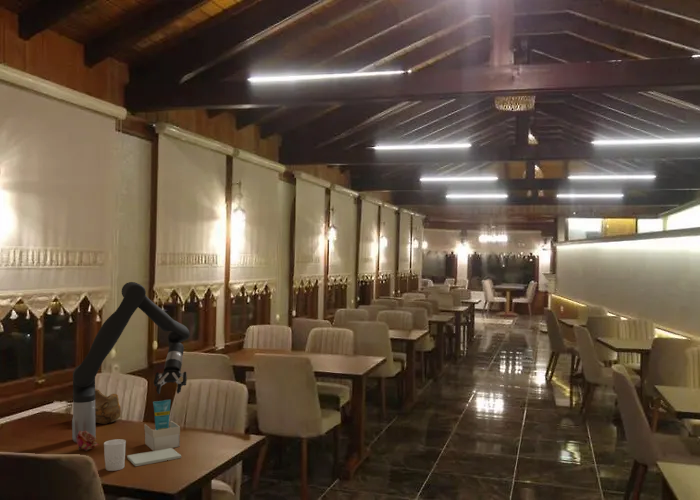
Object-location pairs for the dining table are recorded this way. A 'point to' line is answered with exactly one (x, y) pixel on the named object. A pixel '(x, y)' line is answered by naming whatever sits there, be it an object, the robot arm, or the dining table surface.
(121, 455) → the white cup
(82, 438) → the flower
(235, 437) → the dining table surface
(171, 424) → the carton
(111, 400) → the rough brown rock
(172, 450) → the tile
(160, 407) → the tube
